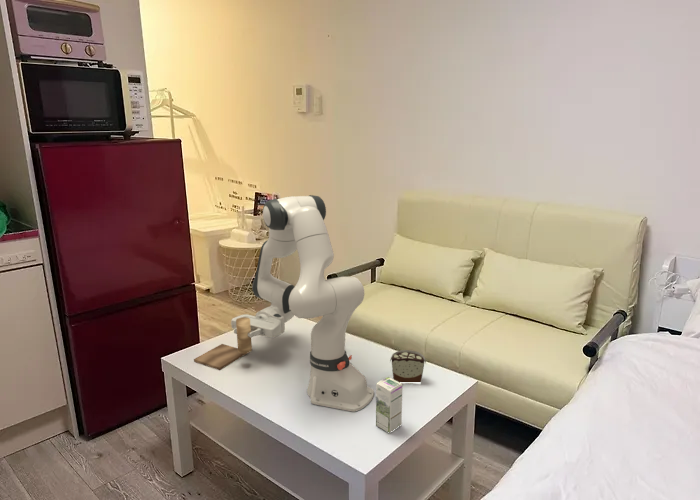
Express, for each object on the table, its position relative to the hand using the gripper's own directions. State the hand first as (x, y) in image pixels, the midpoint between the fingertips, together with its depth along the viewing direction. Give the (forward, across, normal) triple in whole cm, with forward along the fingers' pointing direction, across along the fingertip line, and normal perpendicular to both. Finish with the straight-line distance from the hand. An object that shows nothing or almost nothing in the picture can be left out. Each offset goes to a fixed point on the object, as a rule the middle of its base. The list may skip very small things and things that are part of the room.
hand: (242, 333), depth 182 cm
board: (-1, -12, +13) cm, 18 cm away
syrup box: (+7, +62, +14) cm, 64 cm away
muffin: (-21, +56, +14) cm, 61 cm away
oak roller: (-1, 0, +7) cm, 7 cm away
